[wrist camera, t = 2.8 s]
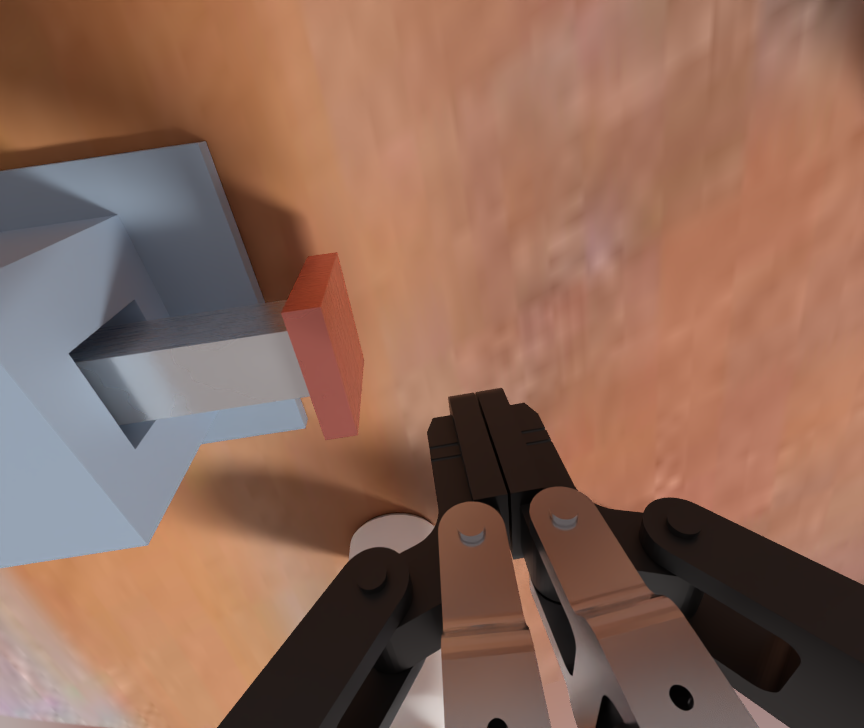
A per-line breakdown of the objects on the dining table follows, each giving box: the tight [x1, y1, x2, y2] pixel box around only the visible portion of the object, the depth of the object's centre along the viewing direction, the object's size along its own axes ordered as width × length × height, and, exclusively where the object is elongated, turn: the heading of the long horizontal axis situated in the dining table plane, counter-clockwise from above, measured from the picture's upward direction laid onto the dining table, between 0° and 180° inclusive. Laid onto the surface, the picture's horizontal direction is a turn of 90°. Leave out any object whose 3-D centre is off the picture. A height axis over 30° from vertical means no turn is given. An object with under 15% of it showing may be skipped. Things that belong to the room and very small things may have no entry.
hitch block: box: [0, 141, 308, 568], centre depth 16 cm, size 16×14×9 cm
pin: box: [68, 252, 364, 440], centre depth 16 cm, size 13×5×5 cm, turn 97°
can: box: [349, 513, 445, 728], centre depth 25 cm, size 6×6×12 cm
